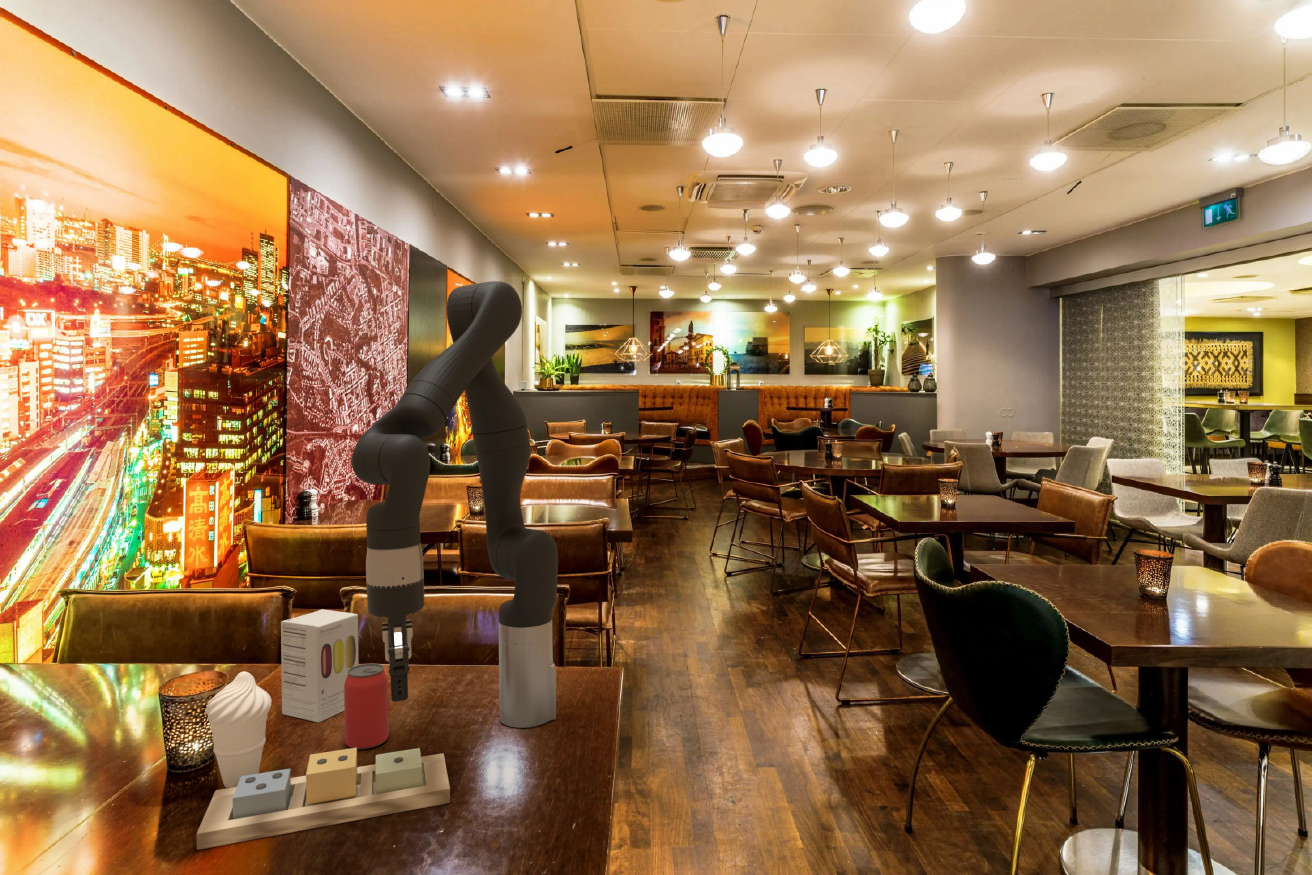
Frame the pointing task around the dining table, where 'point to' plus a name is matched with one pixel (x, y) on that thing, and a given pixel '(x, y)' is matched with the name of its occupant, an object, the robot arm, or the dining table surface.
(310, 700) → the supplement box
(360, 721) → the beer can
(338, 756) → the tile two
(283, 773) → the tile three
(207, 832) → the board
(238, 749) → the soft serve ice cream cone
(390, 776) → the tile one
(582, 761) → the dining table surface
